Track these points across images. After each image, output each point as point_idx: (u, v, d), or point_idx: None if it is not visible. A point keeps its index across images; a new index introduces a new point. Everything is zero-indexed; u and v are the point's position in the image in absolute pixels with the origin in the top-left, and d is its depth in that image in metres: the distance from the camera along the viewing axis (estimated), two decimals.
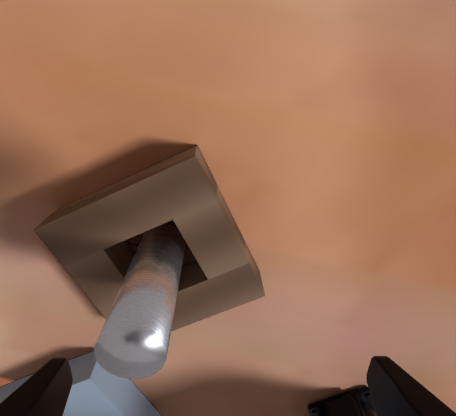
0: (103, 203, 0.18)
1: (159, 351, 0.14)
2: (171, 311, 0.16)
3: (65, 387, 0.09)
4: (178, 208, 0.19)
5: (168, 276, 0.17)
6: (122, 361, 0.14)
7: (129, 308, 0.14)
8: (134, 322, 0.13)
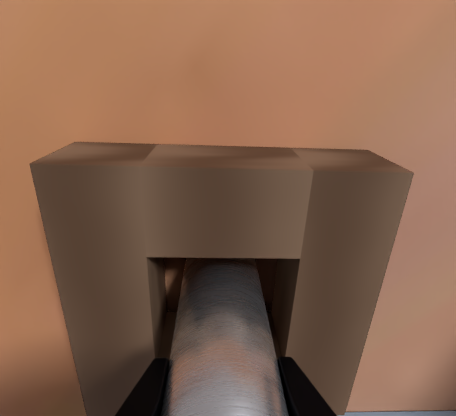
0: (76, 332, 0.11)
1: None
2: None
3: None
4: (128, 238, 0.10)
5: (206, 349, 0.08)
6: None
7: None
8: None
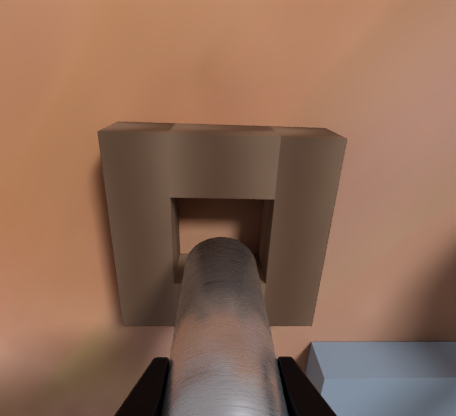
0: (119, 254, 0.16)
1: None
2: None
3: None
4: (158, 184, 0.14)
5: (207, 348, 0.08)
6: None
7: None
8: None
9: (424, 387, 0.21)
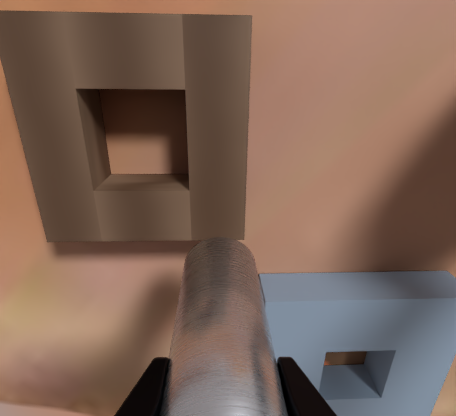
0: (32, 157, 0.15)
1: None
2: None
3: None
4: (60, 72, 0.14)
5: (206, 348, 0.08)
6: None
7: None
8: None
9: (371, 311, 0.20)
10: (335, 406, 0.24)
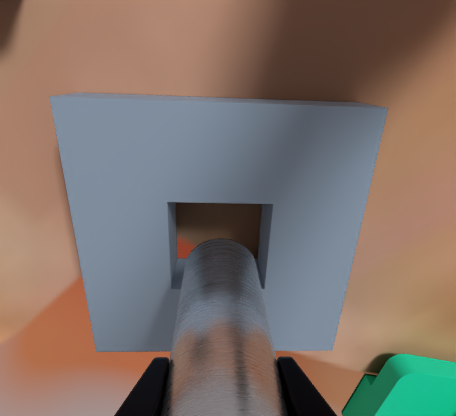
0: None
1: None
2: None
3: None
4: None
5: (207, 350, 0.08)
6: None
7: None
8: None
9: (222, 125, 0.13)
10: None
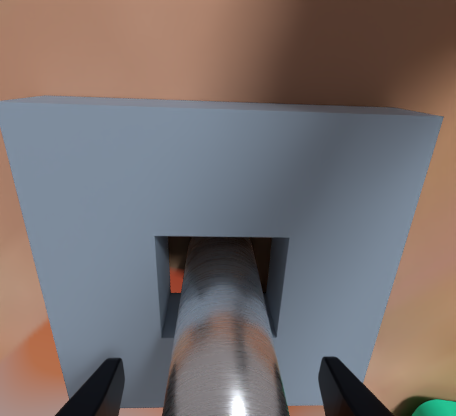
0: None
1: None
2: (241, 366, 0.07)
3: (120, 386, 0.09)
4: None
5: (209, 310, 0.09)
6: None
7: None
8: None
9: (225, 140, 0.10)
10: None
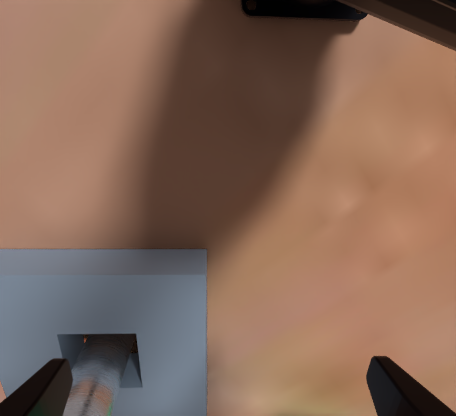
0: None
1: None
2: None
3: (65, 387, 0.09)
4: None
5: (74, 383, 0.18)
6: None
7: None
8: None
9: (88, 288, 0.18)
10: None
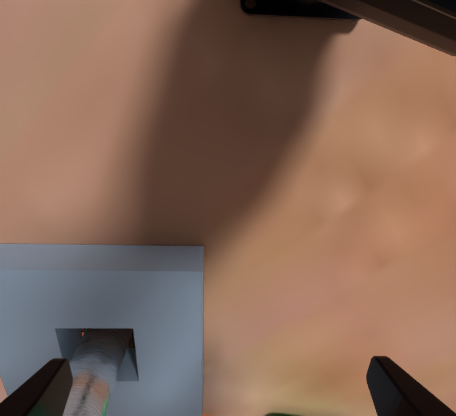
0: None
1: None
2: (70, 410, 0.16)
3: (65, 387, 0.09)
4: None
5: None
6: None
7: None
8: None
9: (86, 283, 0.19)
10: None
